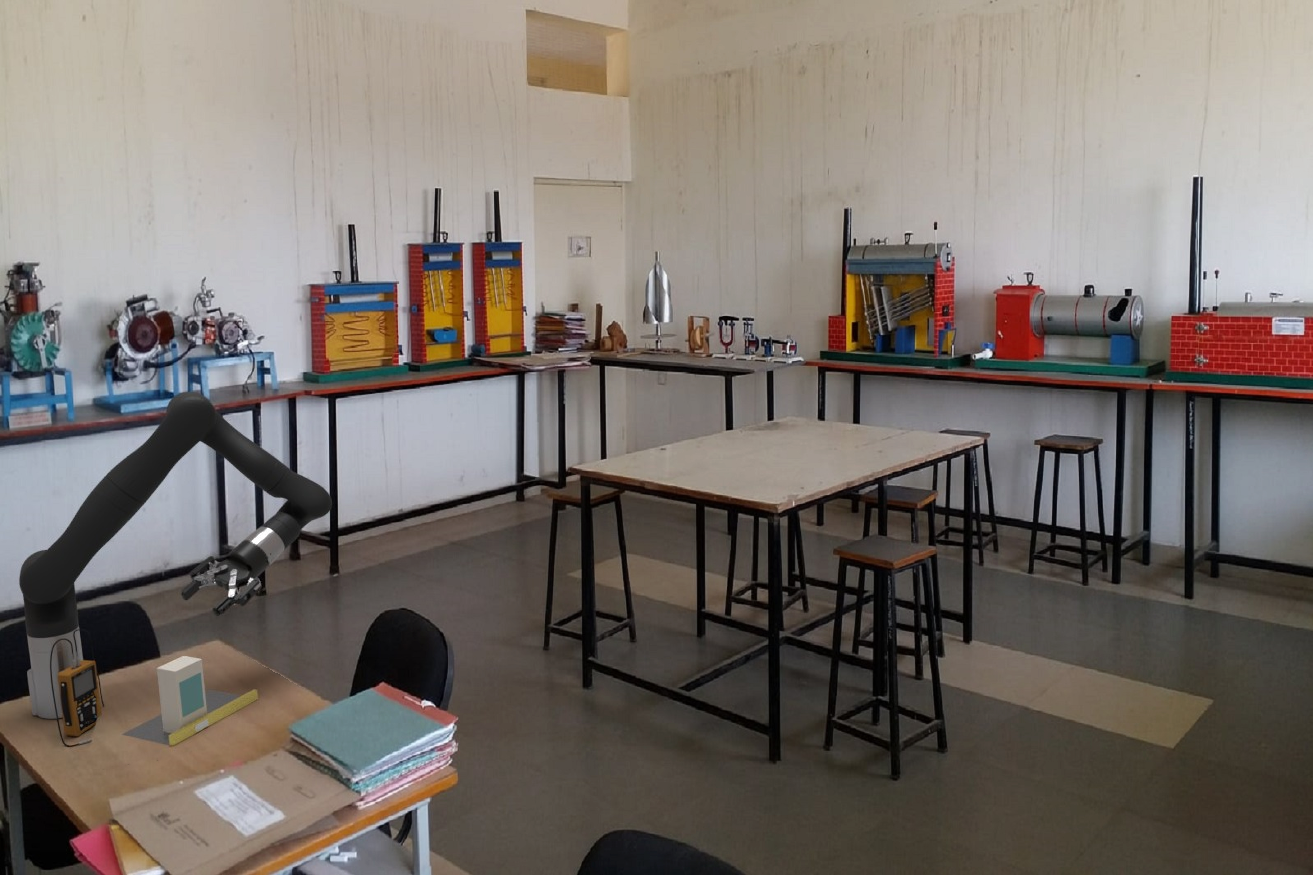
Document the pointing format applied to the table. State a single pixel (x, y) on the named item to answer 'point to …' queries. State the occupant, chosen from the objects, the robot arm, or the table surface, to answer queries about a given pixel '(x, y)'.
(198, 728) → the shelf
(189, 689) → the carton
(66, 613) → the robot arm
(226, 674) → the table surface
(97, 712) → the multimeter
